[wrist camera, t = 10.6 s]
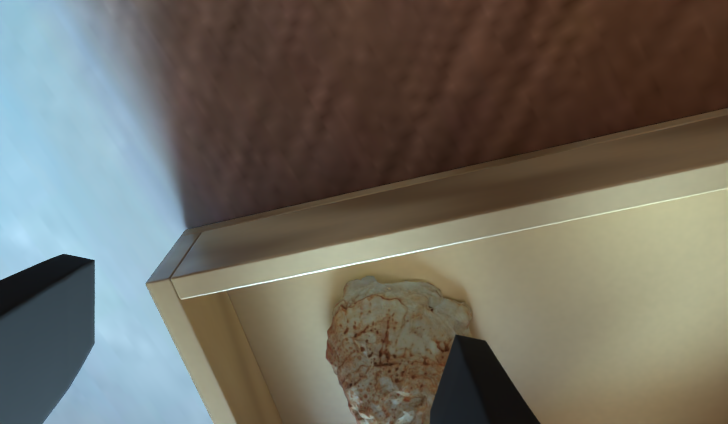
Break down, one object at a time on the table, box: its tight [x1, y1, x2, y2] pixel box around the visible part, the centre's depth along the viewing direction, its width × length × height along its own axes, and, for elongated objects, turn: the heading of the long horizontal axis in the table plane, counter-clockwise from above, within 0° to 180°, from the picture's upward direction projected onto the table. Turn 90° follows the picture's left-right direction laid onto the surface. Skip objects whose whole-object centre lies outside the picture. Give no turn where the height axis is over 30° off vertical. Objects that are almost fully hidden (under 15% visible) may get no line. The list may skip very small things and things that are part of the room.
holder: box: [146, 108, 728, 424], centre depth 20 cm, size 20×16×4 cm
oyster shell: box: [326, 276, 473, 424], centre depth 21 cm, size 10×4×5 cm
